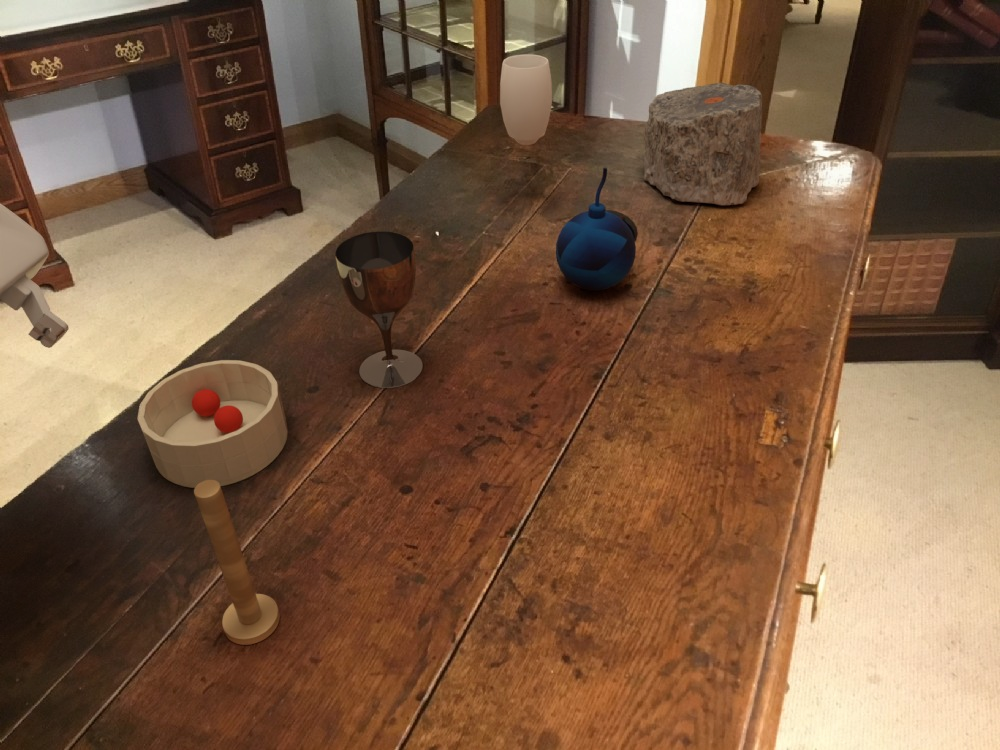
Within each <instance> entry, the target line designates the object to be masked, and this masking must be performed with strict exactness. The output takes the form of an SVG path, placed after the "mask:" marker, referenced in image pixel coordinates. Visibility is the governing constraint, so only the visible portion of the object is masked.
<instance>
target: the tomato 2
mask: <svg viewBox="0 0 1000 750" xmlns="http://www.w3.org/2000/svg"><path fill="white" fill-rule="evenodd" d="M214 423H215V426H216V427H217V429H219V430H220V431H221V432H224V433H232V432H234V431H237V430H238V429H239V428H240V427H241V425H242V423H243V415H242V413H241V411H240V410H239V409H238V408H236V407H234V406H230V405H227V406H223V407H221V408H220V409H218V410H217V412H216V413H215V416H214Z"/></svg>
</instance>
